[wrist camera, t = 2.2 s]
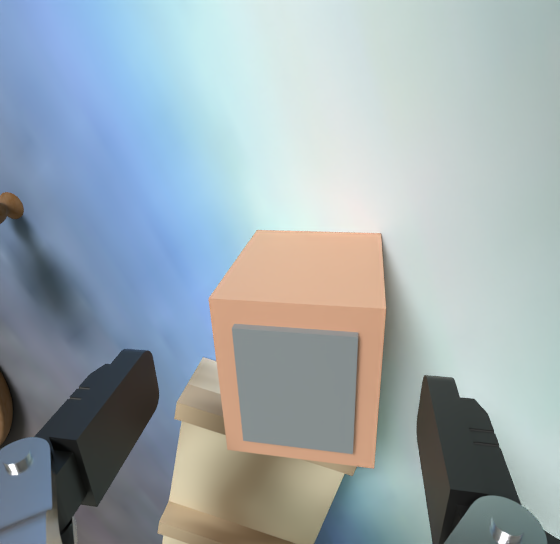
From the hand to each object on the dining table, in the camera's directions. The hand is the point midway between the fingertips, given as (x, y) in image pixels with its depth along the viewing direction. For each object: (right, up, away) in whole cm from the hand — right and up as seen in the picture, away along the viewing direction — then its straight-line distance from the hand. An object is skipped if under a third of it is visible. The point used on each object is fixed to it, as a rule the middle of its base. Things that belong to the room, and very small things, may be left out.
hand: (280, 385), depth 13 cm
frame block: (+2, +2, +6) cm, 7 cm away
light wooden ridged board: (-2, -10, +12) cm, 16 cm away
